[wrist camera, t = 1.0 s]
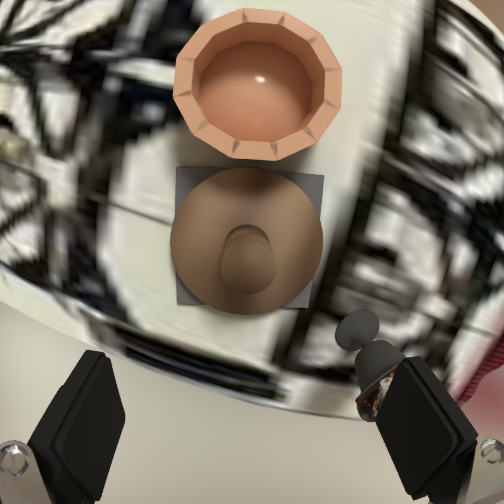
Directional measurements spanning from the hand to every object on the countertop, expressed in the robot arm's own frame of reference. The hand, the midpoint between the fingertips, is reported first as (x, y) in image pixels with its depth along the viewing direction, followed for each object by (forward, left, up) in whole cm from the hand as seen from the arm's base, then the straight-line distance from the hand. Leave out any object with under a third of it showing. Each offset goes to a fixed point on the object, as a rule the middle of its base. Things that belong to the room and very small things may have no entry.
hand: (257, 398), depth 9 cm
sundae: (-12, +9, -19) cm, 24 cm away
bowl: (0, -12, -18) cm, 22 cm away
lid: (0, 0, -18) cm, 18 cm away
